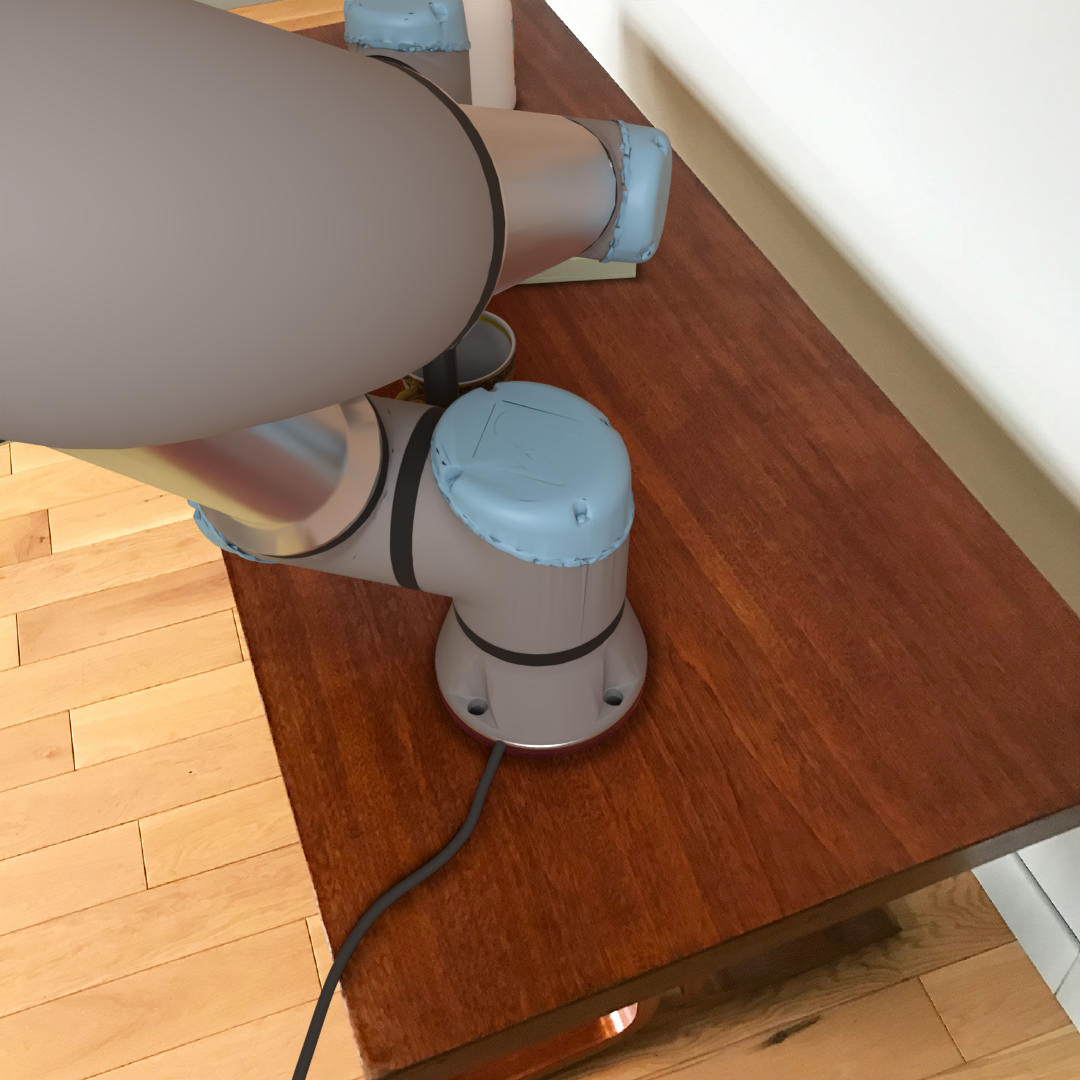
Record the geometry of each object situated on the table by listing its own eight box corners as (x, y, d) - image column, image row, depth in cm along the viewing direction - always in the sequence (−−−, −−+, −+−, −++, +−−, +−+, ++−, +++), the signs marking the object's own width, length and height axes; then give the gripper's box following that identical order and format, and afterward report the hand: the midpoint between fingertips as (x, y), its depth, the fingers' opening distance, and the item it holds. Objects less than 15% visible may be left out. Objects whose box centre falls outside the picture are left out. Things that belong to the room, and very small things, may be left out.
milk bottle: (515, 122, 132) (508, -56, 117) (450, 123, 132) (435, -55, 117) (517, 90, 137) (511, -85, 122) (455, 91, 137) (440, -84, 122)
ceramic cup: (454, 381, 102) (444, 291, 95) (542, 423, 98) (540, 333, 91) (360, 464, 95) (342, 375, 88) (451, 513, 92) (441, 424, 84)
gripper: (486, 316, 71) (502, 533, 88) (474, 117, 87) (489, 330, 104) (369, 324, 71) (406, 539, 87) (378, 122, 87) (408, 335, 103)
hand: (451, 426), depth 96 cm, fingers open, 13 cm apart
